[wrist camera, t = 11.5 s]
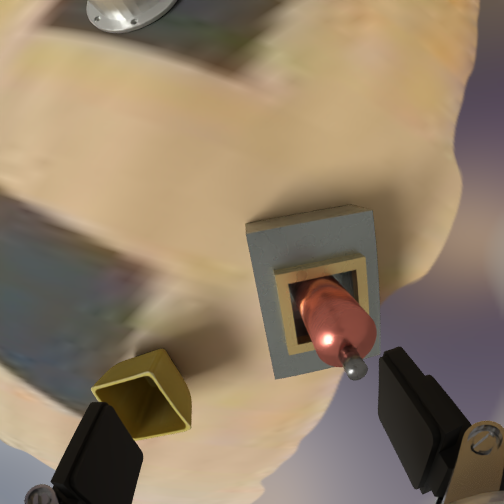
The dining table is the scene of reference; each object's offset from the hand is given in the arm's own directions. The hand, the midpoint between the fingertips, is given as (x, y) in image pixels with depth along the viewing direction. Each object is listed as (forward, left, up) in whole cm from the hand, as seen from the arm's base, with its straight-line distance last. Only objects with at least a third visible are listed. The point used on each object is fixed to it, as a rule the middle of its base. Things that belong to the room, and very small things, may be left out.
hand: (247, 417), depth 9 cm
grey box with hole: (+6, +7, -26) cm, 27 cm away
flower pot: (+14, -14, -26) cm, 33 cm away
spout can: (+5, +6, -24) cm, 25 cm away
